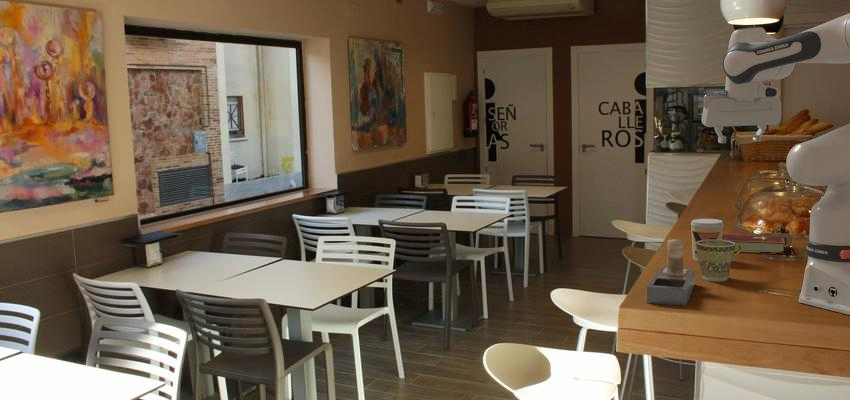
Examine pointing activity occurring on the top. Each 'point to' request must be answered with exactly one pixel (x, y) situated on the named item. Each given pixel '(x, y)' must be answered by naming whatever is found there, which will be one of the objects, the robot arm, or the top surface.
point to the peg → (675, 256)
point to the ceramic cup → (715, 258)
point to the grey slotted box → (671, 287)
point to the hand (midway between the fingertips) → (739, 142)
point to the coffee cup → (705, 232)
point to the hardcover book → (755, 243)
